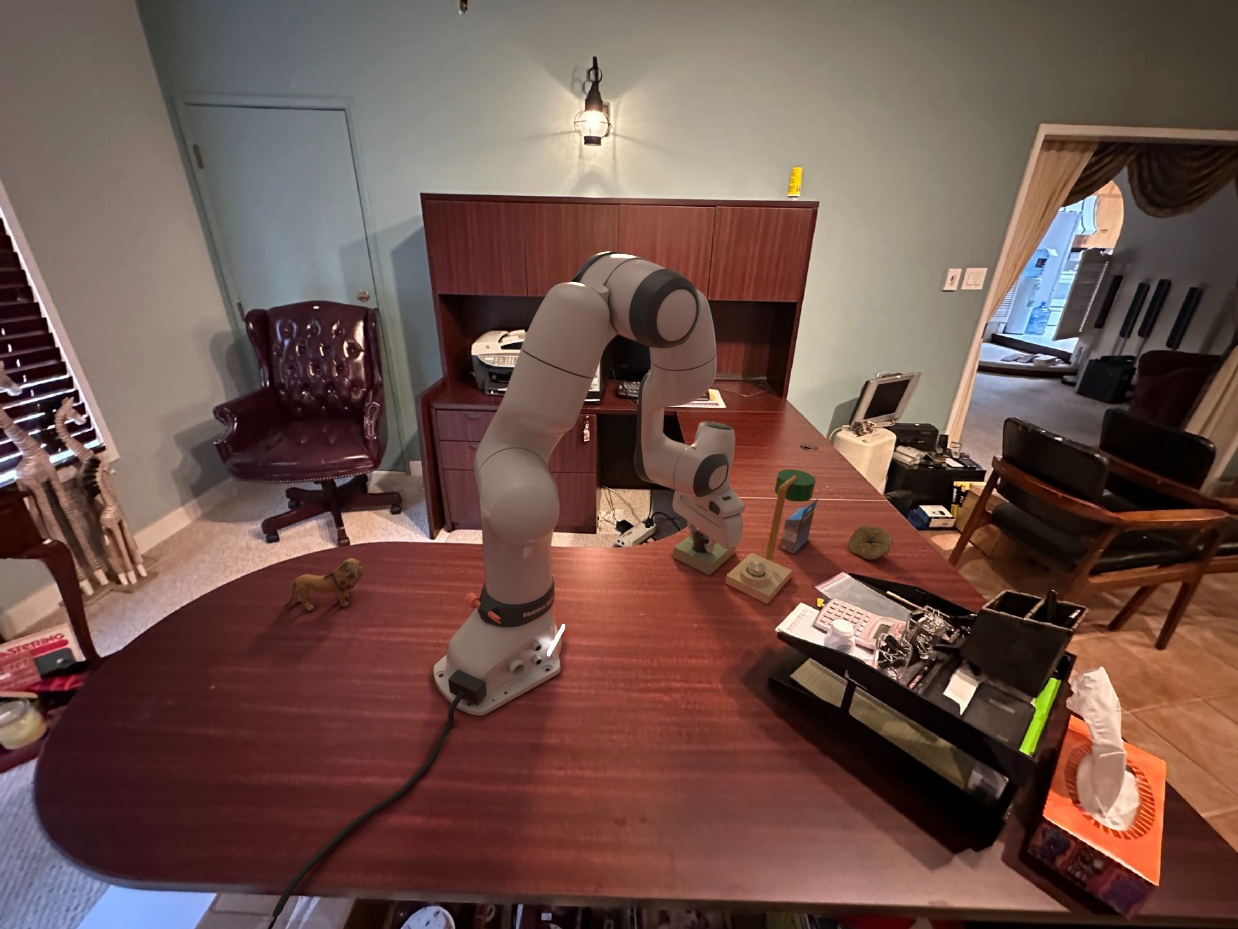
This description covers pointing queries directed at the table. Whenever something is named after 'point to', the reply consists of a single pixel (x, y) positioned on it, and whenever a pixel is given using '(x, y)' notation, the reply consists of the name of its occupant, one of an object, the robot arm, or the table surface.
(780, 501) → the lamp
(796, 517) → the blue box
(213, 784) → the table surface
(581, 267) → the robot arm
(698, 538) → the dimmer knob
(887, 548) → the fossil
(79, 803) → the table surface
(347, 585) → the lion figurine
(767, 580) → the lamp base
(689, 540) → the dimmer panel
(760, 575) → the lamp button
